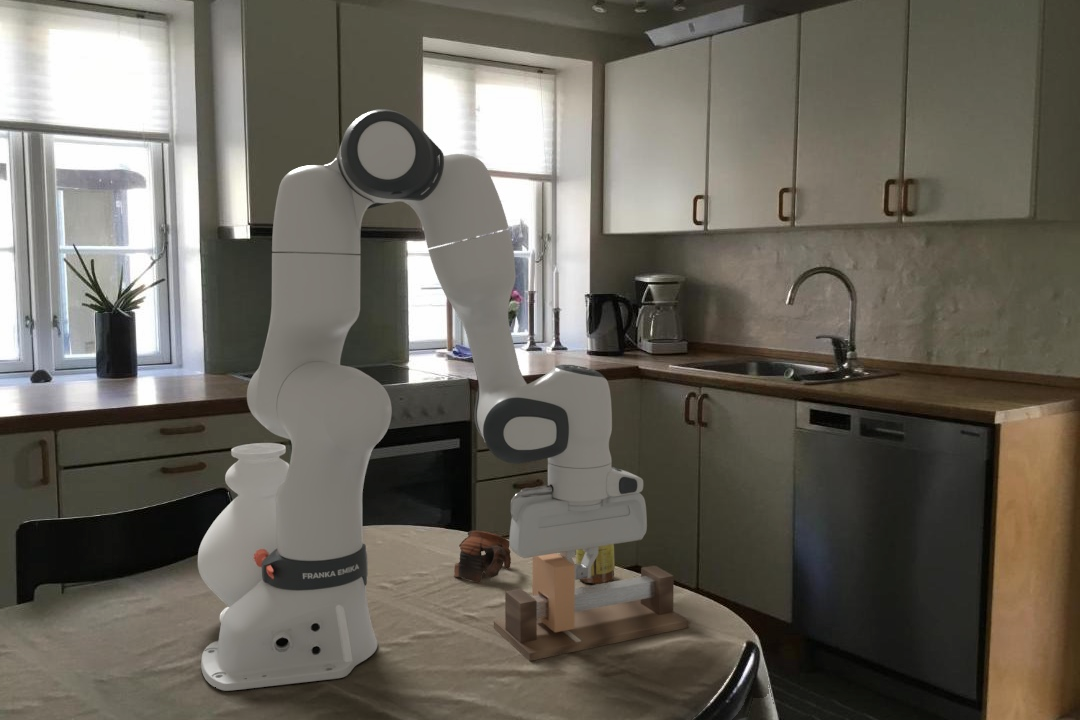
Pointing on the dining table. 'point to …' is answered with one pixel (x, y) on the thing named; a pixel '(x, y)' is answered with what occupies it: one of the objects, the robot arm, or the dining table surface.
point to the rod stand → (593, 615)
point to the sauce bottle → (600, 565)
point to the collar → (556, 589)
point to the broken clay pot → (482, 556)
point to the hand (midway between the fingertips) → (579, 578)
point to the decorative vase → (244, 523)
